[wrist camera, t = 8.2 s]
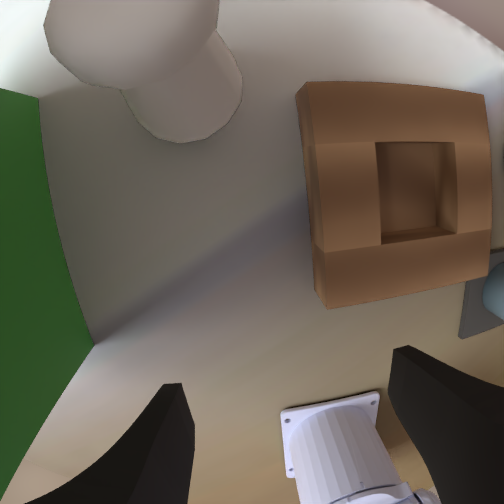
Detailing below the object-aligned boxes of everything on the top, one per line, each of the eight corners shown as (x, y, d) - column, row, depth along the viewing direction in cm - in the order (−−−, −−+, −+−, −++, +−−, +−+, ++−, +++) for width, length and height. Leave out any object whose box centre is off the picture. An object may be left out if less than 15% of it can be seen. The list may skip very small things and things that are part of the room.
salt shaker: (233, 45, 16) (238, -112, 4) (249, 135, 18) (285, 69, 5) (137, 66, 16) (18, -45, 4) (149, 154, 18) (6, 144, 5)
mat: (509, 317, 22) (513, 319, 22) (458, 336, 22) (461, 339, 22) (520, 244, 21) (525, 246, 20) (468, 255, 20) (472, 257, 20)
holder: (463, 262, 21) (487, 275, 18) (314, 289, 20) (327, 309, 17) (457, 99, 17) (483, 94, 14) (295, 94, 17) (306, 81, 14)
